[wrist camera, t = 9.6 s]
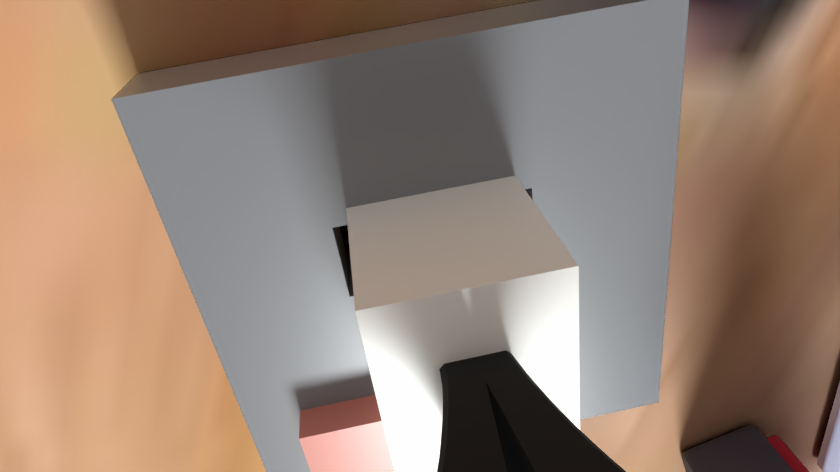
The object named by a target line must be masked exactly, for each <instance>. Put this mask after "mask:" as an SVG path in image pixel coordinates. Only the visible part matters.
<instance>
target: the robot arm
mask: <svg viewBox="0 0 840 472" xmlns="http://www.w3.org/2000/svg"><path fill="white" fill-rule="evenodd" d="M439 370H440V376H441V381H442V390H443V419H442V432H441V444H440V455H439V462H438V468H437V472H626V471H625V470H623V469H622V468H621V467H620V466H619V465H618V464H616V463H615V462H614V461H613V460H612V459H611V458H609V457H608V456H607V455H606V454H605V453H604V452H603V451H602V450H601V449H600V448H598V447H597V446H596V445H595V444H594V443H593V442H592V441H591V440H590V439H589V438H588V437H587V436H586V435H584V434H583V433H582V432H581V431H580V430H579V429H578V428H577V427H576V426H575V425H574V424H573V423H572V422H571V421H570V420H569V419H568V418H567V417H566V416H565V415H564V414H563V413H562V412H561V411H560V409H559V408H558V407H557V406H556V405H555V404H554V403H553V402H552V401H551V400H550V399H549V398H548V397H547V396H546V395H545V393H544V392H543V391H542V390H541V389H540V388H539V387H538V386H537V384H536V383H535V382H534V381H533V380H532V379H531V377H530V376H529V375H528V374H527V373H526V371H525V370H524V369H523V368H522V366H521V365H520V364H519V363H518V361H517V360H516V359H515V357H514V356H513V355H512V354H511V353H510V352H508V351H507V350H505V351H500V352H496V353H491V354H487V355H482V356H478V357H473V358H468V359H464V360H459V361H454V362H450V363H445V364H444V365H443V366H442V367H441V368H440V369H439ZM817 465H818V466H819V467H820V468H821V469H822V471H823V472H840V382H839V385H838V389H837V393H836V396H835V400H834V403H833V407H832V410H831V414H830V417H829V421H828V425H827V428H826V432H825V435H824V439H823V442H822V446H821V450H820V453H819V457H818V460H817Z"/></svg>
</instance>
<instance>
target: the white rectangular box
mask: <svg viewBox="0 0 840 472" xmlns="http://www.w3.org/2000/svg"><path fill="white" fill-rule="evenodd" d="M346 212H347V224H348V236H349V247H350V259H351V270H352V282H353V294H354V305H355V313H356V317H357V321H358V325H359V330H360V334H361V338H362V342H363V346H364V350H365V354H366V358H367V362H368V366H369V370H370V374H371V379H372V383H373V387H374V391H375V395H376V399H377V403H378V407H379V411H380V415H381V419H382V424H383V428H384V432H385V436H386V440H387V444H388V448H389V452H390V456H391V460H392V464H393V469H394V472H437V468H438V462H439V455H440V444H441V432H442V419H443V390H442V381H441V376H440V370H439V369H440V368H441V367H442V366H443V365H444V364H445V363H450V362H454V361H459V360H464V359H468V358H473V357H478V356H482V355H487V354H491V353H496V352H500V351H505V350H507V351H508V352H510V353H511V354H512V355H513V356H514V357H515V359H516V360H517V361H518V363H519V364H520V365H521V366H522V368H523V369H524V370H525V371H526V373H527V374H528V375H529V376H530V377H531V379H532V380H533V381H534V382H535V383H536V384H537V386H538V387H539V388H540V389H541V390H542V391H543V392H544V393H545V395H546V396H547V397H548V398H549V399H550V400H551V401H552V402H553V403H554V404H555V405H556V406H557V407H558V408H559V409H560V411H561V412H562V413H563V414H564V415H565V416H566V417H567V418H568V419H569V420H570V421H571V422H572V423H573V424H574V425H575V426H576V427H577V428H578V429H579V430H580V359H579V266H578V264H577V263H576V261H575V260H574V258H573V257H572V256H571V254H570V253H569V251H568V250H567V249H566V247H565V246H564V244H563V243H562V241H561V240H560V239H559V237H558V236H557V234H556V233H555V232H554V230H553V229H552V227H551V226H550V224H549V223H548V222H547V220H546V219H545V217H544V216H543V215H542V213H541V212H540V210H539V209H538V207H537V206H536V205H535V203H534V202H533V200H532V199H531V197H530V196H529V195H528V193H527V192H526V190H525V189H524V188H523V186H522V185H521V183H520V182H519V180H518V179H517V178H516V176H511V177H505V178H500V179H495V180H490V181H485V182H479V183H474V184H469V185H464V186H459V187H453V188H448V189H443V190H438V191H433V192H428V193H422V194H417V195H412V196H407V197H402V198H396V199H391V200H386V201H381V202H376V203H370V204H365V205H360V206H355V207H350V208H346Z"/></svg>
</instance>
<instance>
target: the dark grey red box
mask: <svg viewBox="0 0 840 472" xmlns="http://www.w3.org/2000/svg"><path fill="white" fill-rule="evenodd" d="M682 459H683V462H684V466H685V469H686V472H809V471H808V470H807V469H806V468H805V466H804V465H803V464H802V463H801V462H800V461H799V459H798V458H797V457H796V456H795V455H794V454H793V452H792V451H791V450H790V449H789V448H788V446H787V445H786V444H785V443H784V442H783V441H782V440H781V439H780V438H779V436H777V435H773V436H770V437H768V438H766V437H765V436H764V435H763V434H762V433H761V431H760V430H759V429H758V428H757V427H756V426H754V425H748V426H745V427H743V428H740V429H737V430H735V431H732V432H730V433H728V434H725V435H723V436H720V437H718V438H715V439H713V440H710V441H708V442H705V443H703V444H700V445H698V446H696V447H693V448H691V449H688V450H686V451H684V452H683V453H682Z"/></svg>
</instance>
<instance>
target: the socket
mask: <svg viewBox="0 0 840 472" xmlns="http://www.w3.org/2000/svg"><path fill="white" fill-rule="evenodd" d="M688 7H689V0H538V1H532V2H527V3H522V4H516V5H511V6H505V7H500V8H494V9H489V10H483V11H478V12H472V13H467V14H461V15H456V16H450V17H445V18H439V19H434V20H428V21H423V22H418V23H412V24H407V25H401V26H396V27H390V28H385V29H379V30H374V31H368V32H363V33H357V34H352V35H346V36H341V37H335V38H330V39H324V40H319V41H314V42H308V43H303V44H297V45H292V46H286V47H281V48H275V49H270V50H264V51H259V52H253V53H248V54H242V55H237V56H231V57H226V58H220V59H215V60H210V61H204V62H199V63H193V64H188V65H182V66H177V67H171V68H166V69H160V70H155V71H149V72H144V73H138V74H137V75H136V76H135V77H134V78H133V79H132V80H130V81H129V82H128V83H127V84H126V85H125V86H124V87H123V88H122V89H121V90H120V91H119V92H118V93H117V94H116V95H115V96H114V97H113V98H112V102H113V104H114V107H115V109H116V111H117V114H118V116H119V119H120V121H121V123H122V126H123V128H124V131H125V133H126V135H127V138H128V140H129V143H130V145H131V147H132V150H133V152H134V155H135V157H136V159H137V162H138V164H139V167H140V169H141V171H142V174H143V176H144V179H145V181H146V183H147V186H148V188H149V191H150V193H151V196H152V198H153V200H154V203H155V205H156V208H157V210H158V212H159V215H160V217H161V220H162V222H163V224H164V227H165V229H166V232H167V234H168V236H169V239H170V241H171V244H172V246H173V248H174V251H175V253H176V256H177V258H178V260H179V263H180V265H181V268H182V270H183V272H184V275H185V277H186V280H187V282H188V284H189V287H190V289H191V292H192V294H193V296H194V299H195V301H196V304H197V306H198V308H199V311H200V313H201V316H202V318H203V320H204V323H205V325H206V328H207V330H208V332H209V335H210V337H211V340H212V342H213V344H214V347H215V349H216V352H217V354H218V356H219V359H220V361H221V364H222V366H223V368H224V371H225V373H226V376H227V378H228V380H229V383H230V385H231V388H232V390H233V392H234V395H235V397H236V400H237V402H238V404H239V407H240V409H241V412H242V414H243V416H244V419H245V421H246V424H247V426H248V428H249V431H250V433H251V436H252V438H253V440H254V443H255V445H256V448H257V450H258V452H259V455H260V457H261V460H262V462H263V464H264V467H265V469H266V472H390V471H394V469H393V464H392V460H391V456H390V452H389V448H388V444H387V440H386V436H385V432H384V428H383V424H382V419H381V415H380V411H379V407H378V403H377V399H376V395H375V391H374V387H373V383H372V379H371V374H370V370H369V366H368V362H367V358H366V354H365V350H364V346H363V342H362V338H361V334H360V330H359V325H358V321H357V317H356V313H355V305H354V294H353V282H352V270H351V259H350V255H348V256H347V255H346V251H345V247H344V243H343V239H342V235H341V231H340V226H345V225H348V224H347V212H346V208H350V207H355V206H360V205H365V204H370V203H376V202H381V201H386V200H391V199H396V198H402V197H407V196H412V195H417V194H422V193H428V192H433V191H438V190H443V189H448V188H453V187H459V186H464V185H469V184H474V183H479V182H485V181H490V180H495V179H500V178H505V177H511V176H516V178H517V179H518V180H519V182H520V183H521V185H522V186H523V188H524V189H525V190H526V192H527V193H528V195H529V196H530V197H531V199H532V200H533V202H534V203H535V205H536V206H537V207H538V209H539V210H540V212H541V213H542V215H543V216H544V217H545V219H546V220H547V222H548V223H549V224H550V226H551V227H552V229H553V230H554V232H555V233H556V234H557V236H558V237H559V239H560V240H561V241H562V243H563V244H564V246H565V247H566V249H567V250H568V251H569V253H570V254H571V256H572V257H573V258H574V260H575V261H576V263H577V264H578V266H579V359H580V420H581V419H586V418H590V417H595V416H599V415H604V414H608V413H613V412H618V411H622V410H627V409H631V408H636V407H640V406H645V405H649V404H654V403H658V402H659V389H660V376H661V363H662V349H663V336H664V323H665V310H666V297H667V284H668V270H669V257H670V244H671V231H672V218H673V204H674V191H675V178H676V165H677V152H678V139H679V125H680V112H681V99H682V86H683V73H684V59H685V46H686V33H687V20H688Z"/></svg>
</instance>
